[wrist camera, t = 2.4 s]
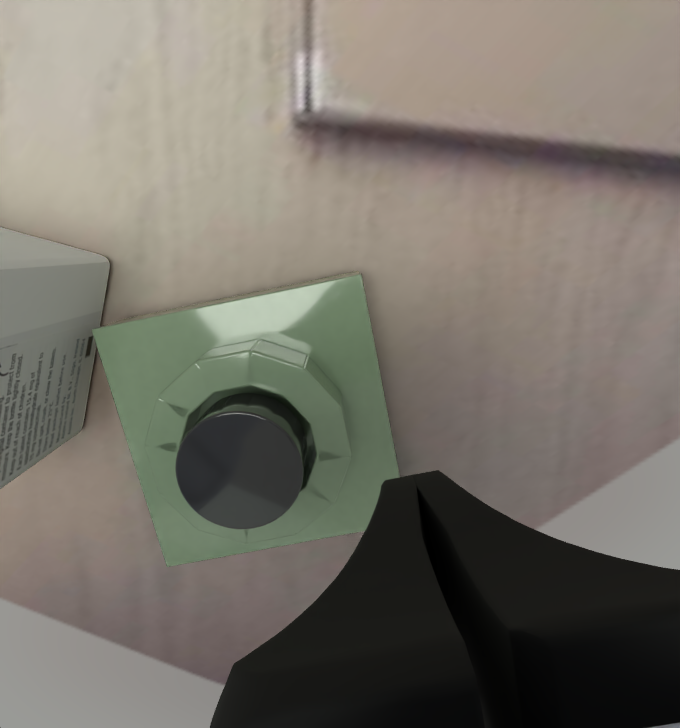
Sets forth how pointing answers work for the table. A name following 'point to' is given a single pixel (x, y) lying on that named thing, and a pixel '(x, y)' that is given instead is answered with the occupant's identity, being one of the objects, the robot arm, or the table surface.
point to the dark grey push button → (242, 461)
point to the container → (45, 344)
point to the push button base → (266, 377)
